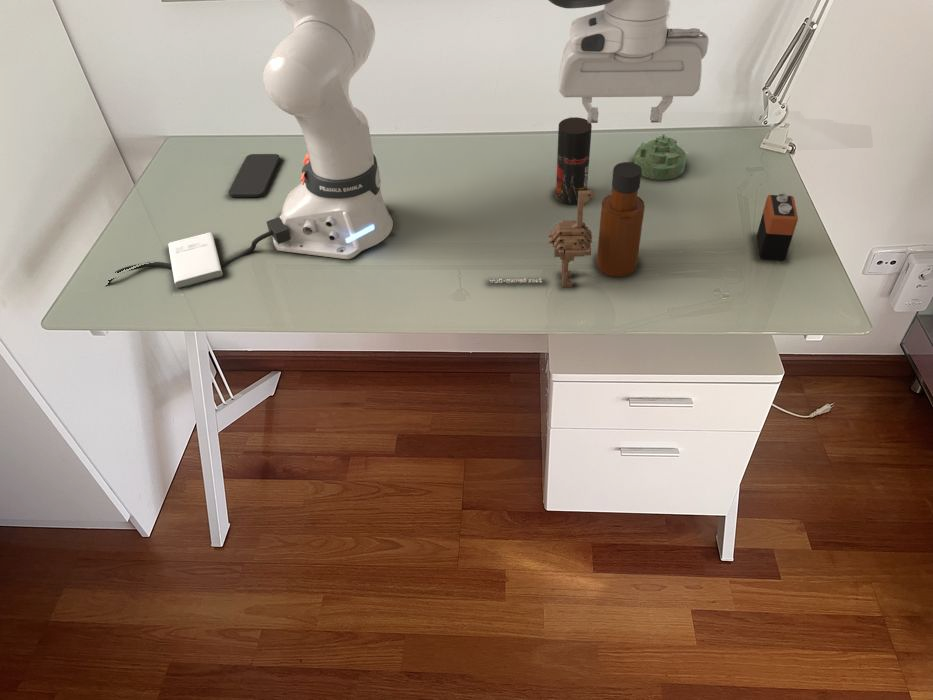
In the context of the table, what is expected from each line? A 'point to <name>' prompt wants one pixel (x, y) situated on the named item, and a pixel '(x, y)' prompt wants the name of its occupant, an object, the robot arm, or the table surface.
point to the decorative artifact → (660, 158)
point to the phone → (254, 175)
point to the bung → (626, 177)
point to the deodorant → (572, 158)
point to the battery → (776, 227)
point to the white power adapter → (194, 260)
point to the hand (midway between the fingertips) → (623, 121)
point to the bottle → (620, 233)
